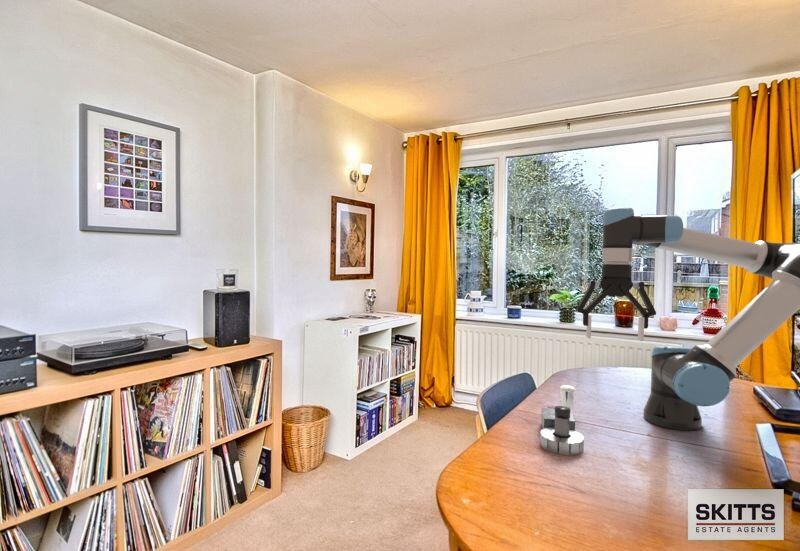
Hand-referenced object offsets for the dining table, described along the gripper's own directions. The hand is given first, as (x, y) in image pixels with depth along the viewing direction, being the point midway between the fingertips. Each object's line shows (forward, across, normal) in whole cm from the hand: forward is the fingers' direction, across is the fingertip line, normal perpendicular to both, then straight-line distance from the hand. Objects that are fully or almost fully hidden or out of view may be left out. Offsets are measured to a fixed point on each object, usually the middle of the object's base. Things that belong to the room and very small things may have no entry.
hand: (614, 338), depth 125 cm
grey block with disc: (+27, +15, +8) cm, 32 cm away
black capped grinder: (+27, +15, +14) cm, 34 cm away
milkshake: (+27, +10, -12) cm, 31 cm away
